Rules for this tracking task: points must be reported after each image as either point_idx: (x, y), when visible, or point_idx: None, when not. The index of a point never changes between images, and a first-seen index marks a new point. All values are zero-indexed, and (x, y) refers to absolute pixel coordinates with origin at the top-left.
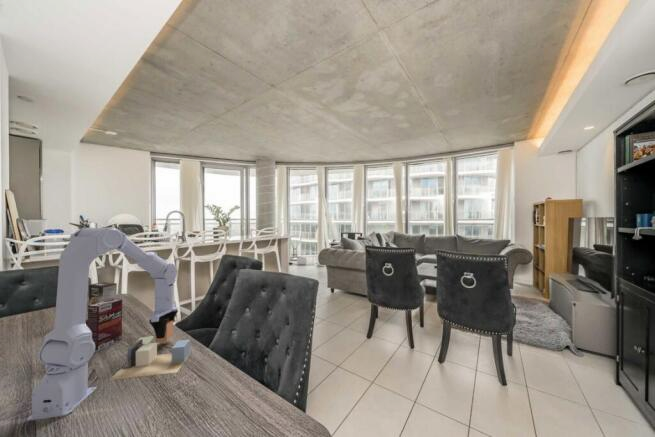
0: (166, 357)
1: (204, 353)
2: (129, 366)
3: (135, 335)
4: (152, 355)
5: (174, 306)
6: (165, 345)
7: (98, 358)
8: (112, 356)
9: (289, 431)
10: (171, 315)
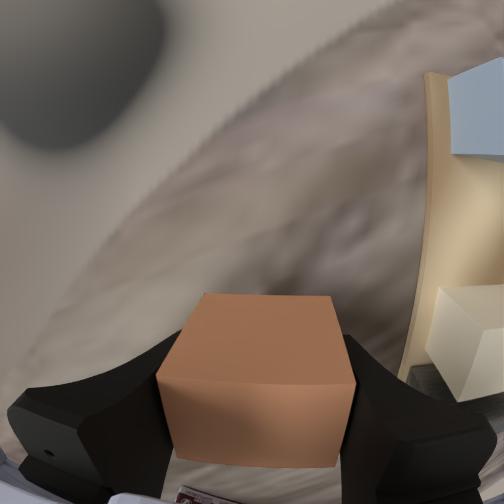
0: (471, 218)
1: (429, 5)
2: None
3: None
4: (499, 298)
5: (22, 502)
6: None
7: (322, 495)
8: (322, 472)
9: None
10: (127, 436)
